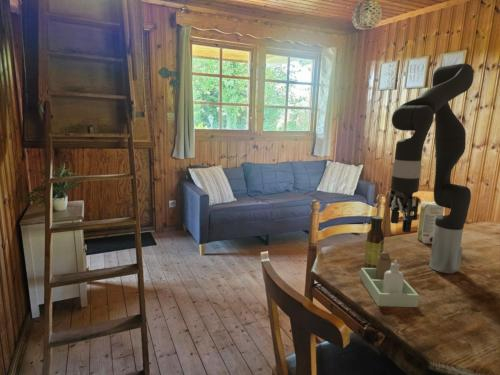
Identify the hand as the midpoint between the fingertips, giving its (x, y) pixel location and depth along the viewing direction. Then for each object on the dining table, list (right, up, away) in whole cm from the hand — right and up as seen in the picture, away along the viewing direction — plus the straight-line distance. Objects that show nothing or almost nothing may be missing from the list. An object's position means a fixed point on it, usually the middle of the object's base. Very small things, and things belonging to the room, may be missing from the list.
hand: (399, 227), depth 99 cm
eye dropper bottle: (0, -23, +5) cm, 23 cm away
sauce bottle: (+2, -19, +28) cm, 34 cm away
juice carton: (+39, -14, +56) cm, 69 cm away
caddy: (0, -23, +9) cm, 24 cm away
